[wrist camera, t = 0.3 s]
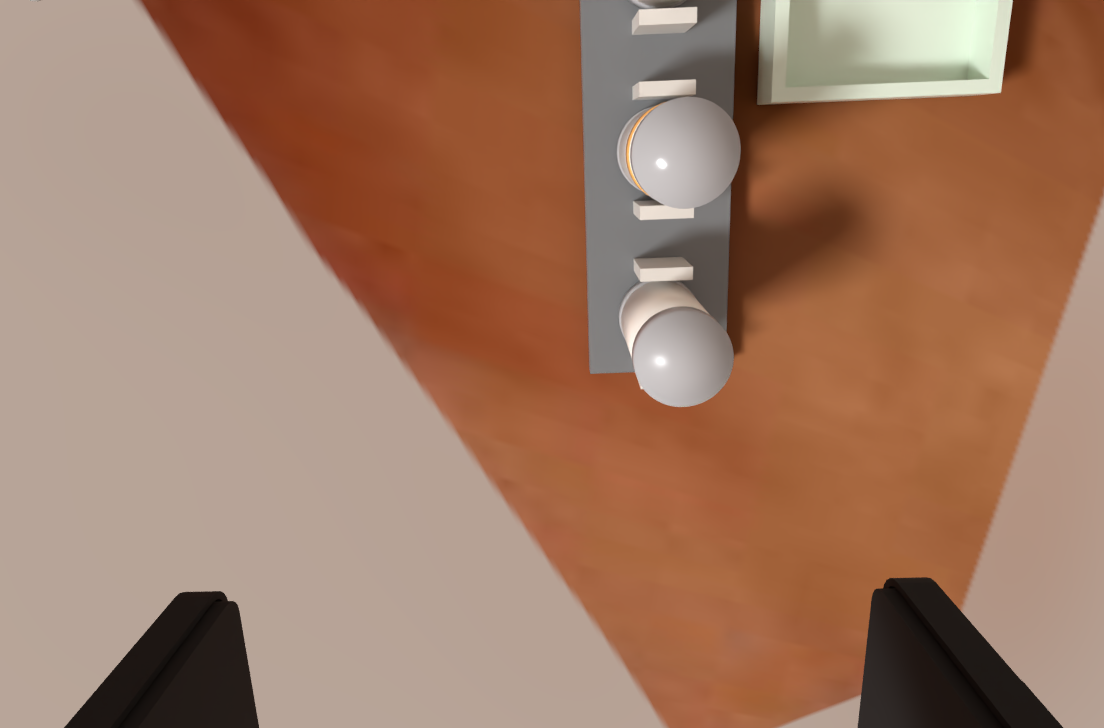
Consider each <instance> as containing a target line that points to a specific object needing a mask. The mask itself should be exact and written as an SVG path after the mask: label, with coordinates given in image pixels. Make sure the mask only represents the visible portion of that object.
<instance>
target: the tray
mask: <svg viewBox="0 0 1104 728" xmlns="http://www.w3.org/2000/svg"><path fill="white" fill-rule="evenodd" d="M1012 2H1013V0H761V15H760V40H759V65H758V91H757V105H766V104H790V103H813V102H837V101H861V100H884V99H908V98H932V97H955V96H974V95H984V94H994V93H1001V87H1002V79H1003V71H1004V64H1005V56H1006V48H1007V41H1008V33H1009V25H1010V18H1011V10H1012Z"/></svg>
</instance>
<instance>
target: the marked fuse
mask: <svg viewBox="0 0 1104 728" xmlns="http://www.w3.org/2000/svg"><path fill="white" fill-rule="evenodd" d="M740 154H741V144H740V138H739V134H738V131H737V128H736V126H735V124H734V122H733V121H732V119H731V118H730V116H729V115H728V114H727V113H726V112H725V111H724V110H723V109H722V108H721V107H719V106H718V105H716V104H715V103H713V102H711V101H709V100H706V99H703V98H698V97H681V98H676V99H673V100H670V101H667V102H664V103H661V104H658V105H656V106H652V107H649V108H646V109H643V110H641V111H639V112H638V113H636V114H635V115H633V116H632V117H631V118H630V119H629V120H628V121H627V122H626V124H625V125H624V127H623V128H622V130H621V132H620V134H619V137H618V140H617V146H616V158H617V163H618V166H619V169H620V171H621V173H622V174H623V176H624V177H625V179H626V180H627V181H628V182H629V183H630V184H631V185H632V186H634V187H635V188H637V189H639V190H640V191H642V192H644V193H645V194H647V195H648V196H650V197H651V198H653V199H655V200H656V201H658V202H659V203H661V204H664V205H666V206H669V207H672V208H678V209H689V208H695V207H699V206H702V205H705V204H707V203H709V202H711V201H713V200H714V199H715V198H717V197H718V196H719V195H720V194H722V193H723V192H724V191H725V189H726V188H727V187H728V186H729V185H730V183H731V181H732V180H733V178H734V176H735V174H736V172H737V169H738V166H739V161H740Z"/></svg>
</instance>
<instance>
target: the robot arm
mask: <svg viewBox="0 0 1104 728" xmlns="http://www.w3.org/2000/svg"><path fill="white" fill-rule="evenodd" d="M64 728H259V724H258V719H257V713H256V707H255V702H254V695H253V689H252V683H251V677H250V671H249V665H248V660H247V654H246V648H245V643H244V636H243V630H242V624H241V618H240V613H239V608H238V605H237V604H236V603H235V602H233V601H228V600H227V597H226V596H225V594H224V593H223V592H221V591H213V592H183V593H180V594H178V595H177V596H176V597H175V598H174V599H173V601H172V602H171V603H170V604H169V605H168V606H167V608H166V609H165V610H164V611H163V612H162V614H161V615H160V616H159V617H158V618H157V619H156V620H155V622H154V623H153V624H152V625H151V626H150V628H149V629H148V630H147V631H146V632H145V634H144V635H143V636H142V637H141V638H140V639H139V641H138V642H137V643H136V644H135V645H134V646H133V648H132V649H131V650H130V651H129V652H128V653H127V655H126V656H125V657H124V658H123V660H121V662H120V663H119V664H118V665H117V666H116V667H115V669H114V670H113V671H112V672H111V673H110V675H109V676H108V677H107V678H106V679H105V680H104V682H103V683H102V684H101V685H100V686H99V687H98V689H97V690H96V691H95V692H94V693H93V695H92V696H91V697H90V698H89V699H88V700H87V702H86V703H85V704H84V705H83V706H82V708H81V709H80V710H79V711H78V712H77V713H76V714H75V716H74V717H73V718H72V719H71V720H70V721H69V723H68V724H67V725H66V726H65V727H64ZM858 728H1063V727H1062V726H1061V725H1060V723H1059V722H1058V721H1057V720H1056V719H1055V718H1054V717H1053V715H1051V713H1050V712H1049V711H1048V710H1047V709H1046V707H1045V706H1044V705H1043V704H1042V703H1041V702H1040V701H1039V699H1038V698H1037V697H1036V696H1035V695H1034V694H1033V693H1032V691H1031V690H1030V689H1029V688H1028V687H1027V686H1026V684H1025V683H1024V682H1023V681H1021V680H1020V679H1019V678H1018V676H1017V675H1016V674H1015V673H1014V672H1013V671H1012V669H1011V668H1010V667H1009V666H1008V665H1007V664H1006V663H1005V661H1004V660H1003V659H1002V658H1001V657H1000V656H999V654H998V653H997V652H996V651H995V650H994V649H993V648H992V646H991V645H990V644H989V643H988V642H987V641H986V640H985V638H984V637H983V636H982V635H981V634H980V633H979V632H978V630H977V629H976V628H975V627H974V626H973V625H972V624H971V622H970V621H969V620H968V619H967V618H966V617H965V615H964V614H963V613H962V612H961V611H960V610H959V609H958V607H957V606H956V605H955V604H954V603H953V602H952V601H951V599H950V598H949V597H948V596H947V595H946V594H945V593H944V591H943V590H942V589H941V588H940V587H939V586H938V584H937V583H936V582H935V581H933V580H932V579H931V578H927V577H926V578H889V579H888V580H886V582H885V584H884V587H883V589H876V590H874V592H873V595H872V601H871V611H870V620H869V629H868V638H867V647H866V656H865V666H864V675H863V684H862V693H861V702H860V711H859V721H858Z"/></svg>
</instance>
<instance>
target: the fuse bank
mask: <svg viewBox="0 0 1104 728" xmlns="http://www.w3.org/2000/svg"><path fill="white" fill-rule="evenodd" d="M736 7H737V0H580V33H581V71H582V109H583V147H584V185H585V224H586V262H587V300H588V338H589V369H590V374H593V373H621V372H635V373H636V376H637V379H638V382H639V385H640V388H641V389H644V390H645V391H646V392H647V393H648V394H649V395H650V396H651V397H652V398H654V399H655V400H657V401H659V402H661V403H663V404H666V405H670V406H675V407H687V406H693V405H697V404H700V403H703V402H705V401H707V400H708V399H710V398H712V397H713V396H714V395H715V394H717V393H718V392H719V391H720V390H721V389H722V388H723V386H724V385H725V383H726V382H727V380H728V378H729V376H730V374H731V371H732V367H733V361H734V352H733V346H732V343H731V340H730V338H729V336H728V334H727V301H728V269H729V236H730V203H731V183H730V185H729V186H728V187H727V188H726V189H725V191H724V192H723V193H722V194H720V195H719V196H718V197H717V198H715V199H714V200H713V201H711V202H709V203H707V204H705V205H702V206H699V207H695V208H689V209H678V208H672V207H669V206H666V205H664V204H661V203H659V202H658V201H656V200H655V199H653V198H651V197H650V196H648V195H647V194H645V193H644V192H642V191H640V190H639V189H637V188H635V187H634V186H632V185H631V184H630V183H629V182H628V181H627V180H626V179H625V177H624V176H623V174H622V173H621V171H620V169H619V166H618V163H617V158H616V146H617V140H618V137H619V134H620V132H621V130H622V128H623V127H624V125H625V124H626V122H627V121H628V120H629V119H630V118H631V117H632V116H633V115H635V114H636V113H638V112H639V111H641V110H643V109H646V108H649V107H652V106H656V105H658V104H661V103H664V102H667V101H670V100H673V99H676V98H681V97H698V98H703V99H706V100H709V101H711V102H713V103H715V104H716V105H718V106H719V107H721V108H722V109H723V110H724V111H725V112H726V113H727V114H728V115H729V116H730V118H731V119H732V121H733V105H734V72H735V39H736Z"/></svg>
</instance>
